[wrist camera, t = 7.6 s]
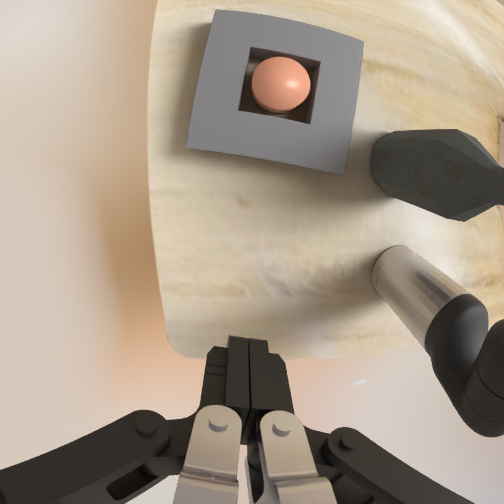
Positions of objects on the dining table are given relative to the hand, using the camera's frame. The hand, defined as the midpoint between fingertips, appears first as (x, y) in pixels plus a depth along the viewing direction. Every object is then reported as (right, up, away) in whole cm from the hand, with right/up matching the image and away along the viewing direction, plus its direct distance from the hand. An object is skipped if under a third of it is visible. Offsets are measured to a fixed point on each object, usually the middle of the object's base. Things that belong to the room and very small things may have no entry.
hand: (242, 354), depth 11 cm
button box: (+4, +26, +23) cm, 34 cm away
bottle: (+22, +17, +27) cm, 39 cm away
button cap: (+4, +26, +22) cm, 34 cm away
